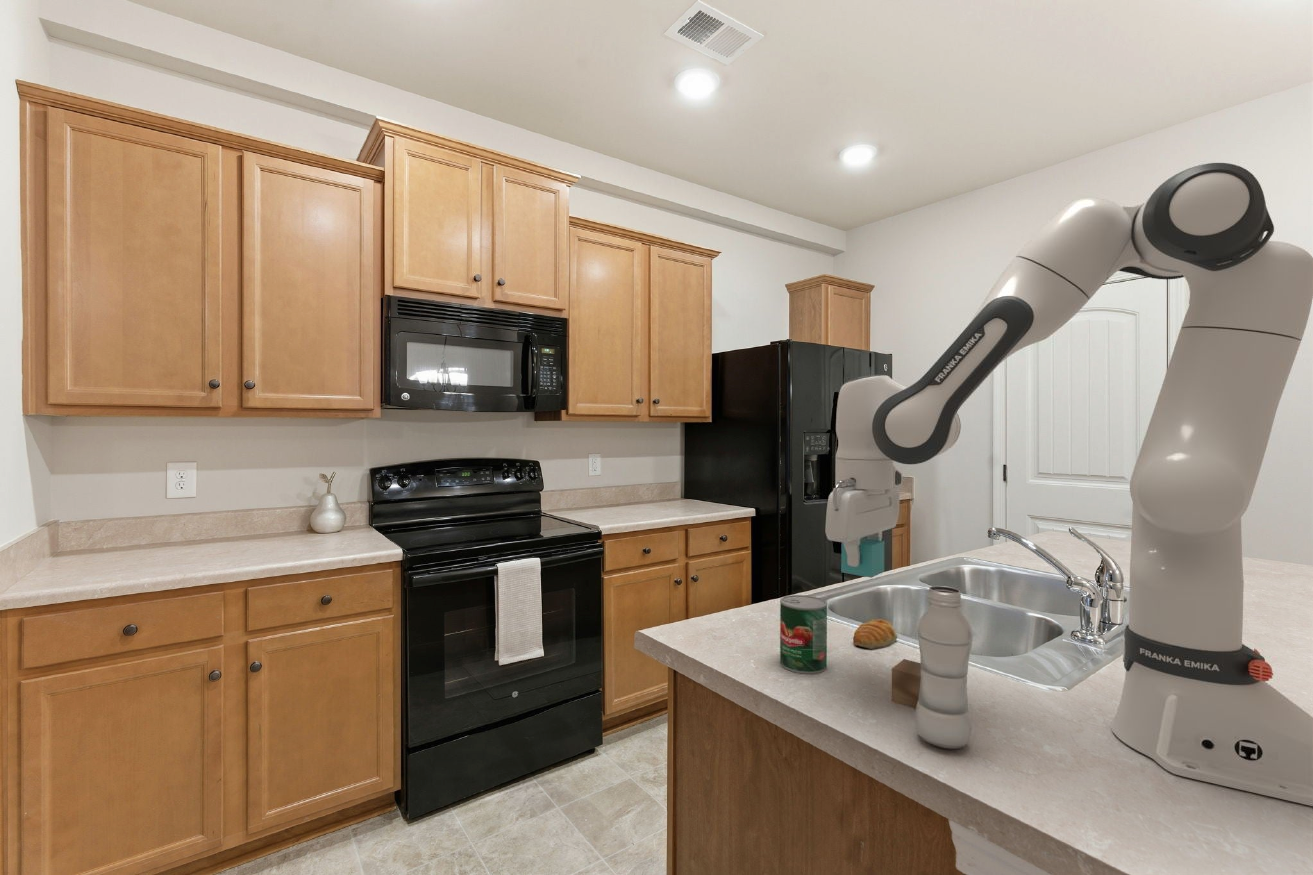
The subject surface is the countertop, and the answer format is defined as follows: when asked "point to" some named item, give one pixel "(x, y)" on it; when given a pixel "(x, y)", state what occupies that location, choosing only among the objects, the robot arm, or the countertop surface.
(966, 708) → the plastic bottle
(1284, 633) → the countertop surface
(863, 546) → the teal block
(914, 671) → the walnut block
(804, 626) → the canned tomato
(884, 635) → the pastry
